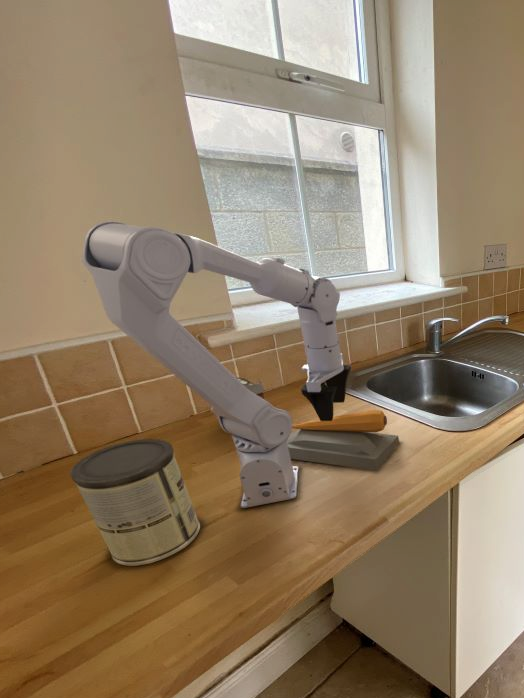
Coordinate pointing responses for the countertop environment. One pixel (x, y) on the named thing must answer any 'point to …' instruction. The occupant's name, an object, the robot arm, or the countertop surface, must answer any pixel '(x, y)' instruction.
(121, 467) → the coffee can
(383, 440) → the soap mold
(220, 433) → the countertop surface
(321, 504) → the countertop surface
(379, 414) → the carrot
